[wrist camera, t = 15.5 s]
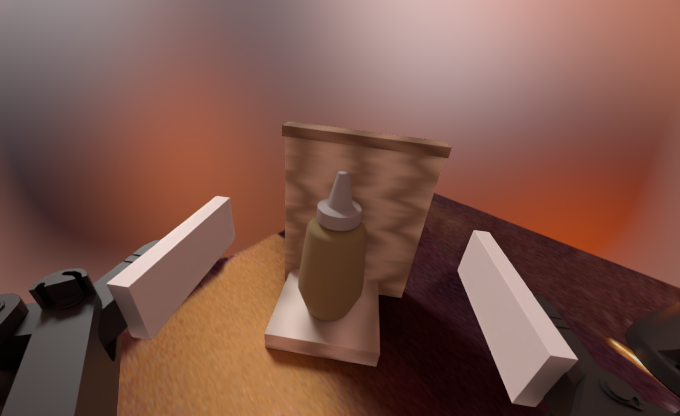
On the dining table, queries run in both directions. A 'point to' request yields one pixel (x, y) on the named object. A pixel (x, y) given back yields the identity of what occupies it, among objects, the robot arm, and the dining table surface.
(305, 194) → the wooden display stand
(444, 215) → the dining table surface
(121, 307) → the robot arm
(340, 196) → the squeeze bottle
